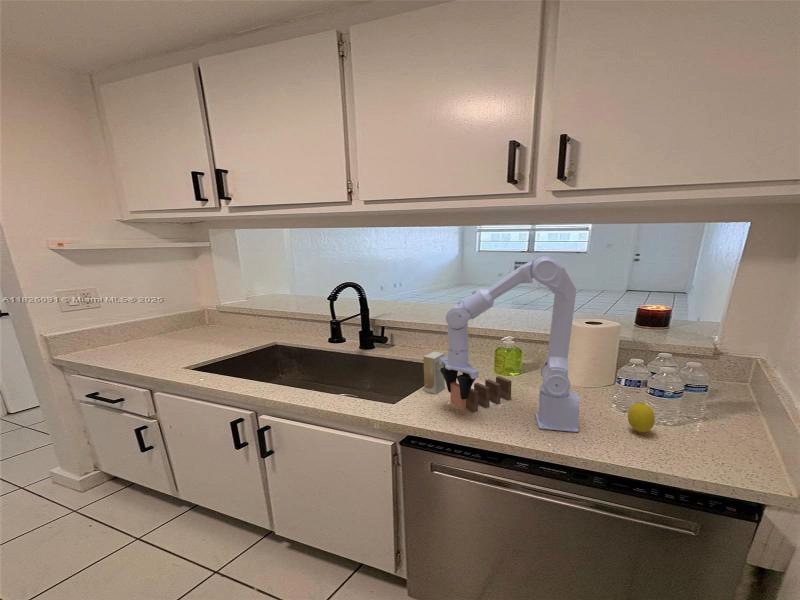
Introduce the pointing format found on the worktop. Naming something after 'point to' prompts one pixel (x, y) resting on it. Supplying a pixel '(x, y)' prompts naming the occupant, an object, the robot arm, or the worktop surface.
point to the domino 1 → (457, 396)
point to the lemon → (641, 417)
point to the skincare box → (433, 373)
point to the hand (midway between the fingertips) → (458, 394)
